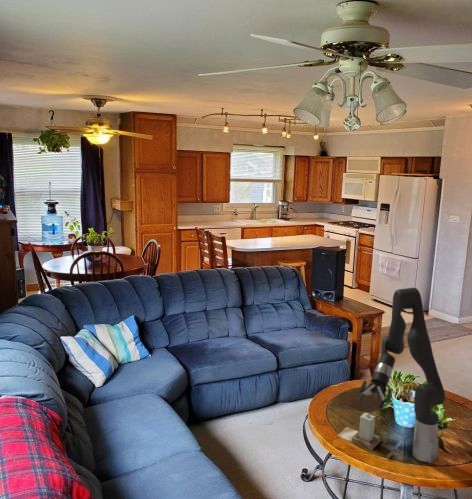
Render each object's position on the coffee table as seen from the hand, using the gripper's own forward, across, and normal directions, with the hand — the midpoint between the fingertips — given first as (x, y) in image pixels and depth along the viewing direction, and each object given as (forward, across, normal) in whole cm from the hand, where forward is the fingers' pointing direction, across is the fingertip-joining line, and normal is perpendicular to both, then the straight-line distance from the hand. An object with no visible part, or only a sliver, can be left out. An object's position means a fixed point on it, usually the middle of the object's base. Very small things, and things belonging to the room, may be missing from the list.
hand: (370, 405), depth 210 cm
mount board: (+15, -2, +7) cm, 17 cm away
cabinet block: (+14, +1, +6) cm, 16 cm away
